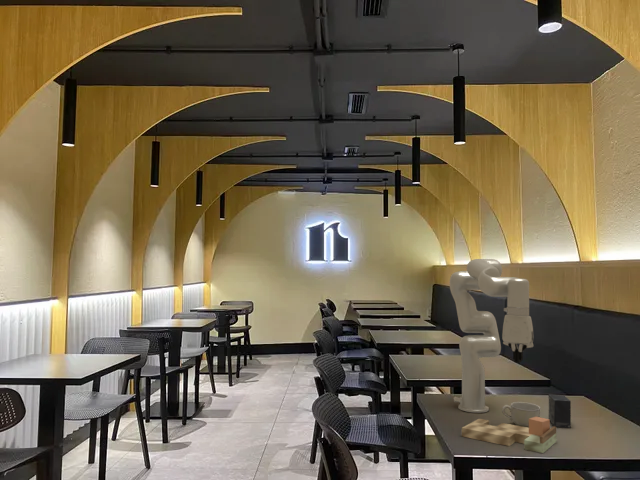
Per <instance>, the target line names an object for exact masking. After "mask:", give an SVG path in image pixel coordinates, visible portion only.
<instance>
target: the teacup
mask: <svg viewBox="0 0 640 480" xmlns="http://www.w3.org/2000/svg"><path fill="white" fill-rule="evenodd" d="M506 409H508V410H509V412H510V415H509V414H508V413H506V411H505V410H506ZM501 412H502V414H503V415H504V416H505V417H506V418H508V419H509V421H511V422H513V423H514V425H516V426H522V427H528V428H529V419H530V418H533V417H540V418H541V406H539V405H538V404H535V403H533V402H532V403H531V402H524V401H514V402H511V403H510V404H509V405H508V404H505V405H503V406H502V407H501Z"/></svg>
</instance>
